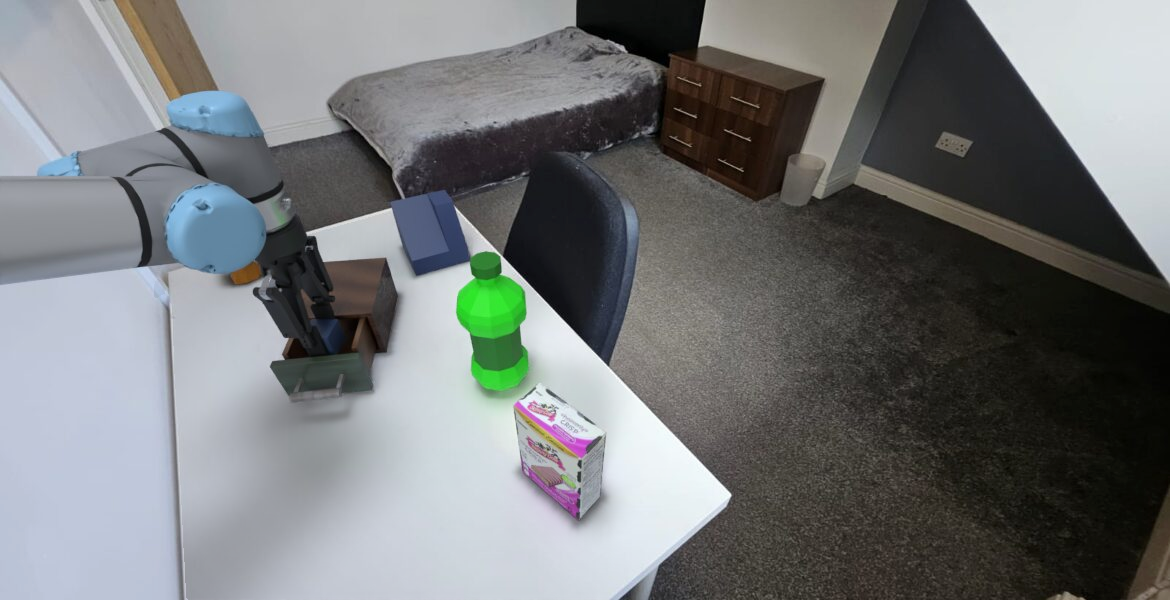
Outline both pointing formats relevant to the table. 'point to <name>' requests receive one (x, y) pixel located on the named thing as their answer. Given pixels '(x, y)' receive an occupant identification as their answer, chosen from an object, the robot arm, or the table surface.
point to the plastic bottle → (494, 323)
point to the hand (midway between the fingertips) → (327, 345)
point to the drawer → (329, 365)
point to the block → (330, 333)
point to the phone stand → (430, 232)
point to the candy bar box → (560, 449)
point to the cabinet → (362, 295)
